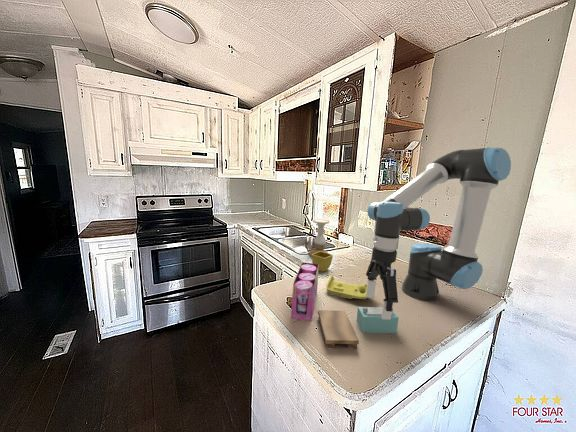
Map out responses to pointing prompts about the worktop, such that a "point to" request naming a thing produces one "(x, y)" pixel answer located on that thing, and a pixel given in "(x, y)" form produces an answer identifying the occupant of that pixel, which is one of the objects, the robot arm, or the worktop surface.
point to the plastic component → (346, 289)
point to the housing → (376, 320)
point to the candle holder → (319, 237)
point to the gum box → (305, 292)
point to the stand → (337, 329)
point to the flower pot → (322, 260)
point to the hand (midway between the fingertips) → (377, 307)
